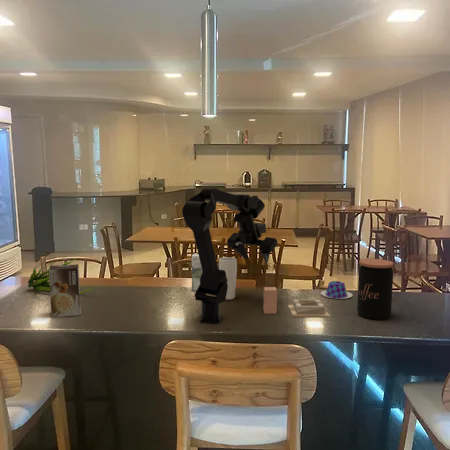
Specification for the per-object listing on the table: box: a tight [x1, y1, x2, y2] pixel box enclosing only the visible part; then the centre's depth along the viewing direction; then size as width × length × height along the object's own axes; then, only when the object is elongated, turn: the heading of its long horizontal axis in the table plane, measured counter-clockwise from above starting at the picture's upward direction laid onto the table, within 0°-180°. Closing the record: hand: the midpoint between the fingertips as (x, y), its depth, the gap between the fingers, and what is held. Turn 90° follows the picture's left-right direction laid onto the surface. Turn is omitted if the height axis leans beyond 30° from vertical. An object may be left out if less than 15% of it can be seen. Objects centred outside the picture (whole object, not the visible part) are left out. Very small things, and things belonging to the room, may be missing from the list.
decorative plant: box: [27, 257, 102, 295], centre depth 168 cm, size 18×30×15 cm, turn 40°
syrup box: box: [191, 252, 202, 292], centre depth 174 cm, size 6×6×14 cm
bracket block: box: [263, 286, 278, 315], centre depth 147 cm, size 4×4×8 cm
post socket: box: [287, 298, 331, 318], centre depth 148 cm, size 12×12×3 cm
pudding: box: [320, 280, 354, 300], centre depth 168 cm, size 12×12×5 cm
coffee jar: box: [356, 258, 394, 321], centre depth 143 cm, size 11×11×18 cm
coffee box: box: [48, 264, 82, 319], centre depth 144 cm, size 9×6×16 cm
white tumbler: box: [218, 256, 238, 301], centre depth 162 cm, size 7×7×15 cm
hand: (256, 260), depth 163 cm, fingers open, 9 cm apart
